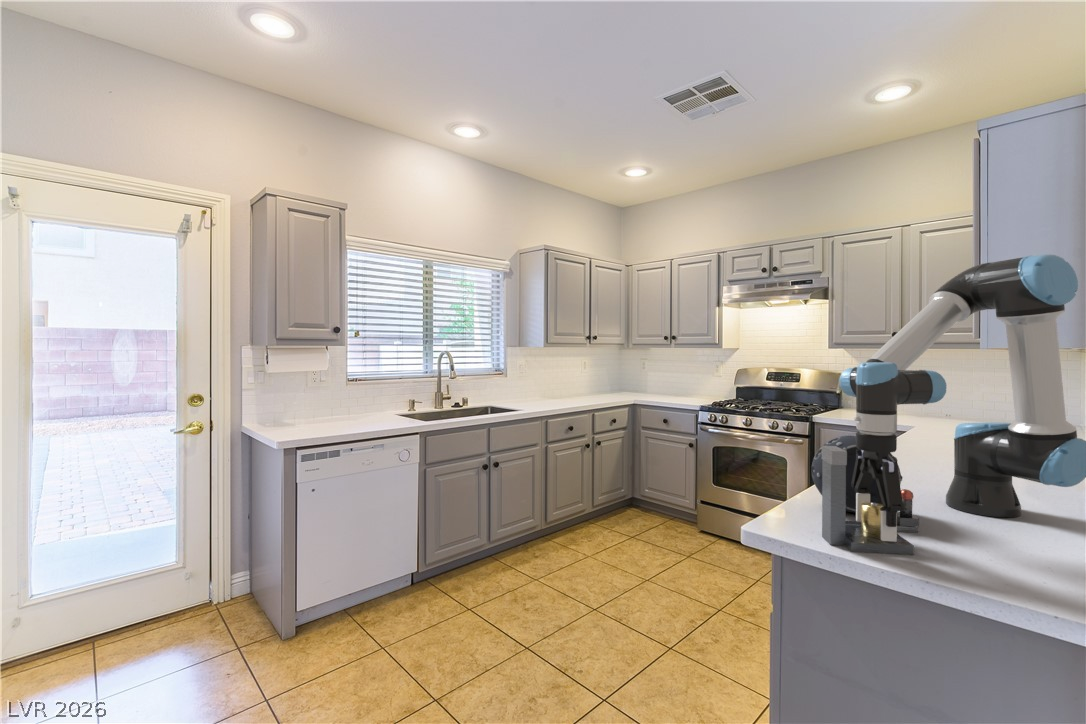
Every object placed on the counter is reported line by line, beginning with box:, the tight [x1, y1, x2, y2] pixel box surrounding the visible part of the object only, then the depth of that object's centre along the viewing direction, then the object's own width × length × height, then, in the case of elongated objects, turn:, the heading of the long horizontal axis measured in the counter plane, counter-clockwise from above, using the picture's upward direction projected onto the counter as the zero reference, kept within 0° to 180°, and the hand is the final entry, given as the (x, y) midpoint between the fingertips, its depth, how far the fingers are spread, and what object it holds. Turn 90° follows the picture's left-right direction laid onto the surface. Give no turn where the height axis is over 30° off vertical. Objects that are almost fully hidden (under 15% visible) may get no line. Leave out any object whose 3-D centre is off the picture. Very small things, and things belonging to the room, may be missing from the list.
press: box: [821, 445, 919, 556], centre depth 113 cm, size 23×17×21 cm
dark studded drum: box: [811, 435, 903, 514], centre depth 133 cm, size 11×20×20 cm, turn 78°
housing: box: [861, 502, 883, 539], centre depth 111 cm, size 5×5×7 cm
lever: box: [897, 488, 920, 527], centre depth 119 cm, size 4×3×8 cm
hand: (875, 530), depth 111 cm, fingers open, 11 cm apart
